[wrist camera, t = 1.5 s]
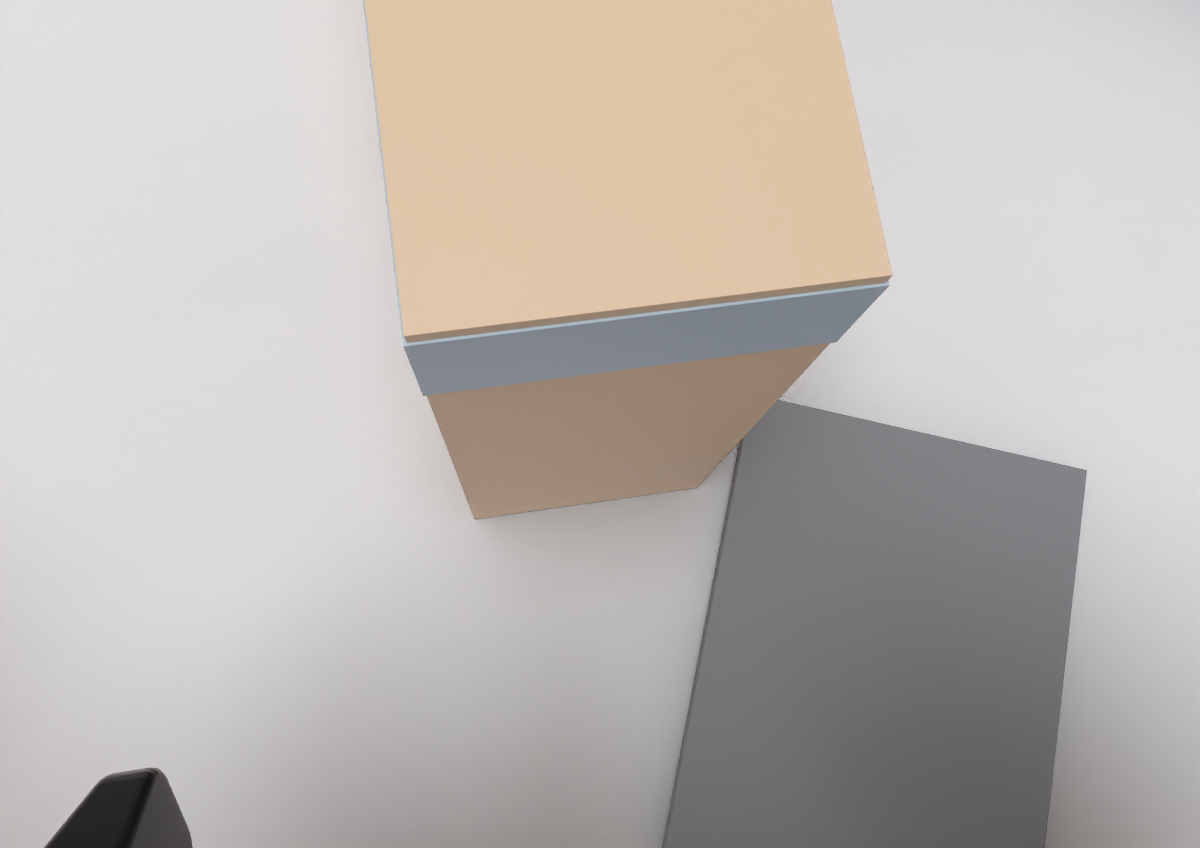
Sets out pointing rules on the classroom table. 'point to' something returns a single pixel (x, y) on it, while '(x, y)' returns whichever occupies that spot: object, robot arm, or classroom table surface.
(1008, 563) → the mat
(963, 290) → the classroom table surface
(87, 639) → the classroom table surface
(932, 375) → the classroom table surface
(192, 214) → the classroom table surface
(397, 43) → the stub
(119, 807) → the robot arm
